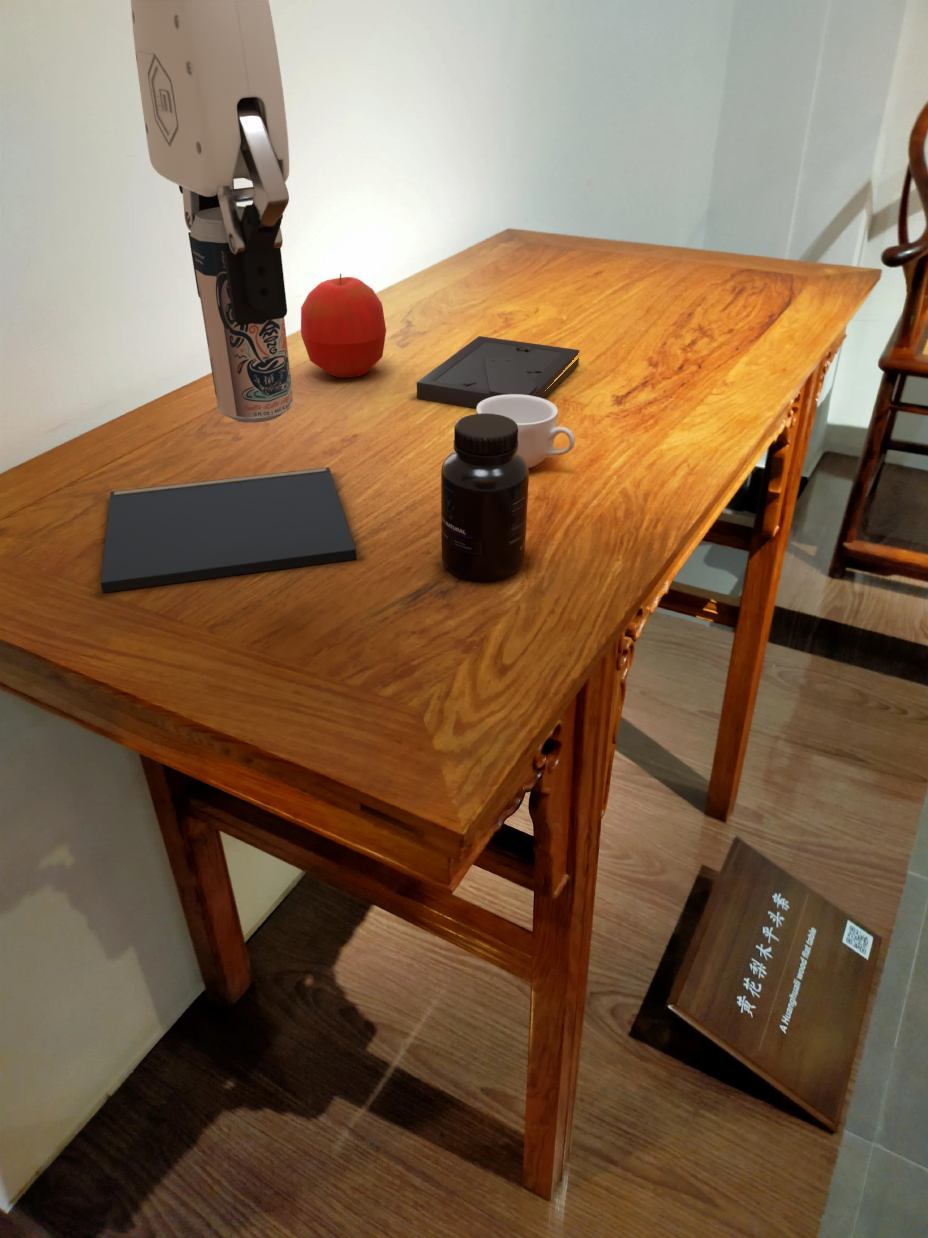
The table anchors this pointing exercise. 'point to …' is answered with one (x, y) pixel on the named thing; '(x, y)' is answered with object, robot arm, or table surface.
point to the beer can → (238, 335)
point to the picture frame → (496, 372)
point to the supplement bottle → (484, 499)
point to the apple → (343, 327)
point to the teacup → (530, 424)
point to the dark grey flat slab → (223, 529)
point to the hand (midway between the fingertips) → (241, 305)
